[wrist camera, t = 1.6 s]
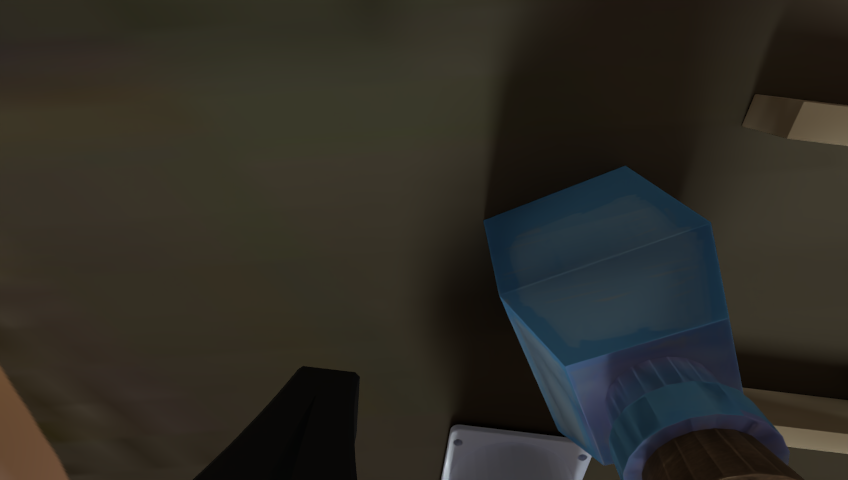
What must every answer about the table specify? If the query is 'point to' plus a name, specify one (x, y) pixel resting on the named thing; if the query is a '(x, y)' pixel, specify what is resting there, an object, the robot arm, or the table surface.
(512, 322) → the perfume bottle
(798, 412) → the walled pen
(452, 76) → the table surface
